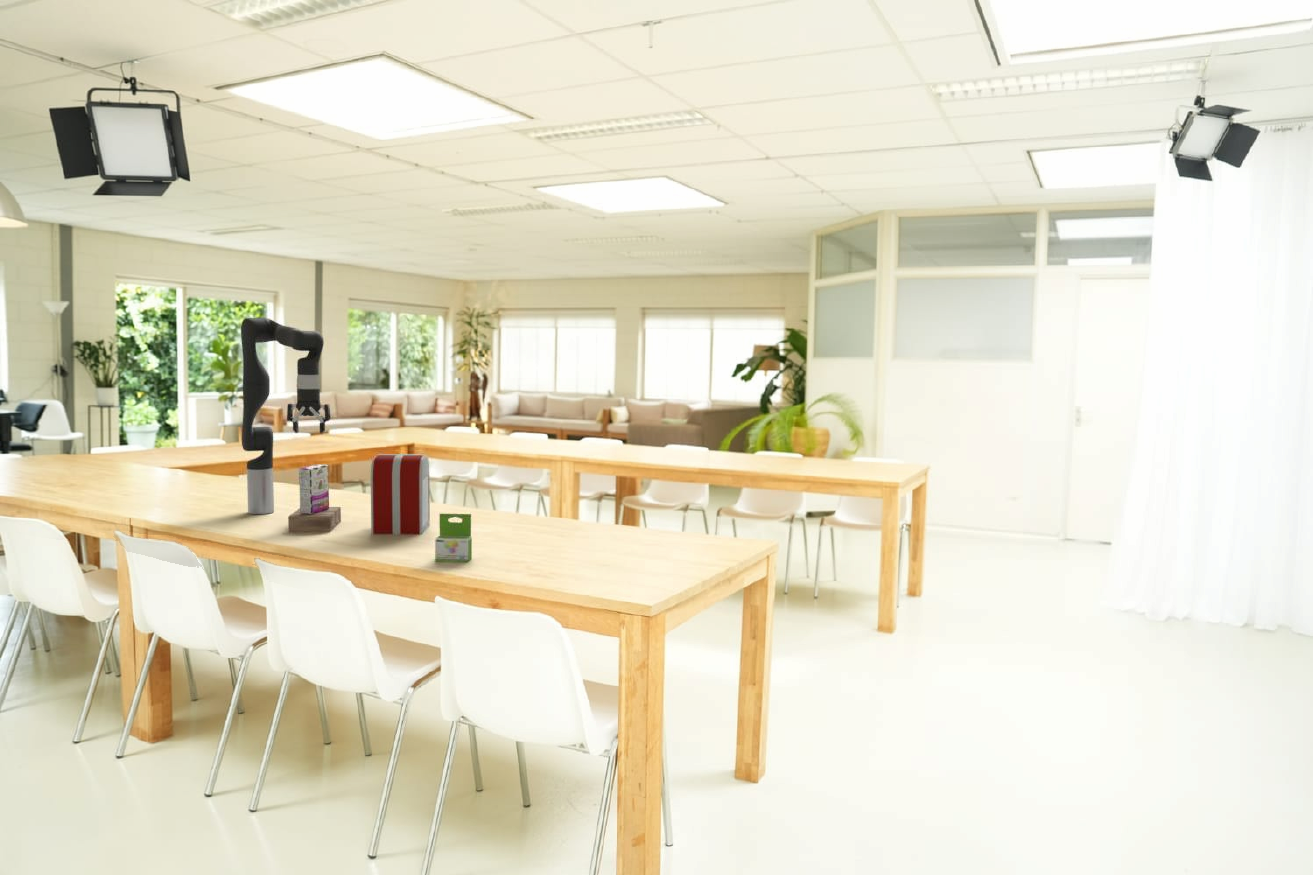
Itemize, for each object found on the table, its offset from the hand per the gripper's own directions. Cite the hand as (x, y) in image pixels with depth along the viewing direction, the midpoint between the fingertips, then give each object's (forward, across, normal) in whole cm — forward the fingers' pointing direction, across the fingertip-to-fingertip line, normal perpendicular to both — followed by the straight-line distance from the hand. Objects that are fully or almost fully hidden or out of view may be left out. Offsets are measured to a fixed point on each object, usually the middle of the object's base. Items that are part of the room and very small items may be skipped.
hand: (309, 432), depth 309 cm
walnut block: (+34, -2, +1) cm, 34 cm away
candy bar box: (+28, -2, +1) cm, 28 cm away
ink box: (+33, -56, +53) cm, 84 cm away
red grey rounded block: (+34, -33, +7) cm, 48 cm away
